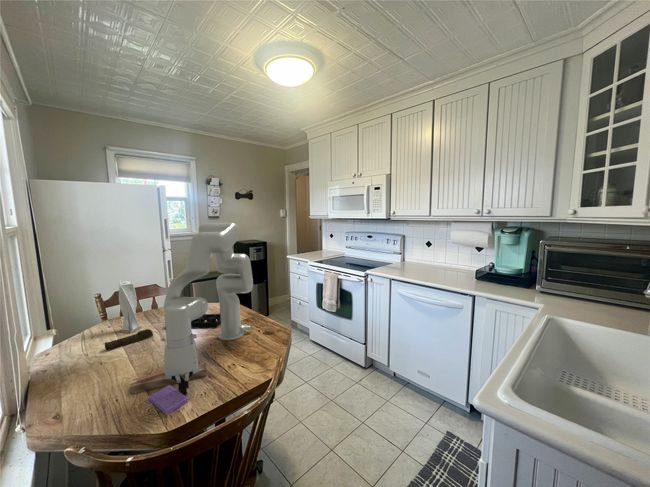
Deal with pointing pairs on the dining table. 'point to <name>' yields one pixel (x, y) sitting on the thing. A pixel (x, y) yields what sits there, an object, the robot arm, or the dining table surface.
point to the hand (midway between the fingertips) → (183, 390)
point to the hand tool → (129, 339)
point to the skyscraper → (128, 306)
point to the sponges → (168, 399)
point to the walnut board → (162, 381)
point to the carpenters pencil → (148, 377)
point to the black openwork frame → (210, 321)
